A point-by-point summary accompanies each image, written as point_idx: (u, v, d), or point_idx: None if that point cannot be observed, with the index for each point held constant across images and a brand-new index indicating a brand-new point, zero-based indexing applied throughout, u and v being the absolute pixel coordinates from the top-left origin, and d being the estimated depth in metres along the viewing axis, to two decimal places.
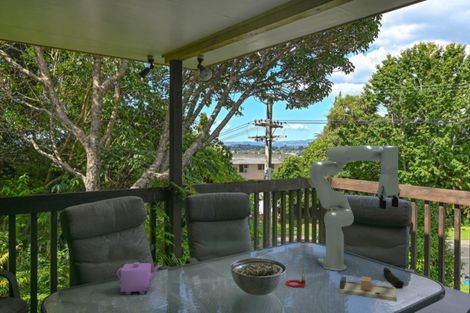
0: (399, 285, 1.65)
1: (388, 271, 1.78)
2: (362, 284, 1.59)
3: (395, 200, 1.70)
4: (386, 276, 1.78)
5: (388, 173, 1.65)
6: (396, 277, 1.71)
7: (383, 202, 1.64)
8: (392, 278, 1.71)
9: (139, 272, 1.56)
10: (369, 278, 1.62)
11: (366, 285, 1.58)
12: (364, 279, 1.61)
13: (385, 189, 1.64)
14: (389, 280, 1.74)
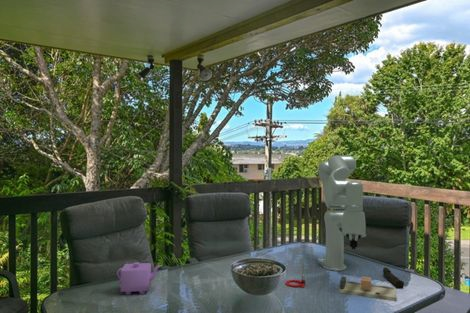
0: (400, 285, 1.65)
1: (388, 271, 1.78)
2: (362, 284, 1.59)
3: (353, 241, 1.64)
4: (386, 276, 1.78)
5: None
6: (396, 277, 1.71)
7: None
8: (392, 278, 1.71)
9: (139, 272, 1.56)
10: (369, 278, 1.62)
11: (366, 285, 1.58)
12: (364, 279, 1.61)
13: None
14: (389, 280, 1.74)
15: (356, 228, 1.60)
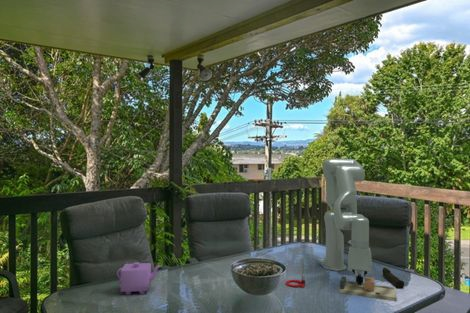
0: (400, 285, 1.65)
1: (388, 271, 1.78)
2: (365, 284, 1.59)
3: (359, 276, 1.63)
4: (386, 276, 1.78)
5: None
6: (396, 277, 1.71)
7: None
8: (392, 278, 1.71)
9: (139, 272, 1.56)
10: (372, 278, 1.61)
11: (370, 286, 1.58)
12: (368, 279, 1.61)
13: None
14: (389, 280, 1.74)
15: (362, 264, 1.59)
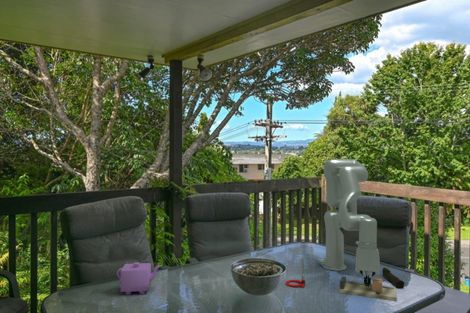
0: (400, 285, 1.65)
1: (388, 271, 1.78)
2: (373, 286, 1.57)
3: None
4: (386, 276, 1.78)
5: None
6: (396, 277, 1.71)
7: None
8: (392, 278, 1.71)
9: (139, 272, 1.56)
10: (380, 280, 1.60)
11: (378, 287, 1.57)
12: (376, 280, 1.59)
13: None
14: (389, 280, 1.74)
15: (370, 265, 1.58)
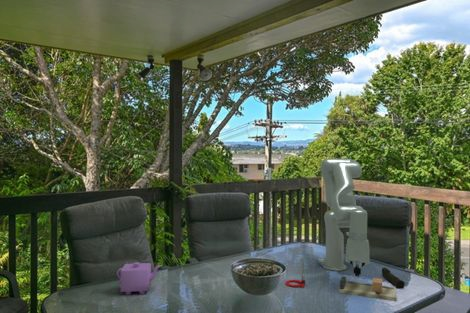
0: (401, 285, 1.65)
1: (387, 271, 1.78)
2: (374, 286, 1.57)
3: None
4: (385, 276, 1.78)
5: None
6: (396, 277, 1.71)
7: None
8: (392, 278, 1.70)
9: (139, 272, 1.56)
10: (380, 280, 1.60)
11: (378, 287, 1.57)
12: (376, 280, 1.59)
13: None
14: (389, 280, 1.74)
15: (360, 256, 1.60)
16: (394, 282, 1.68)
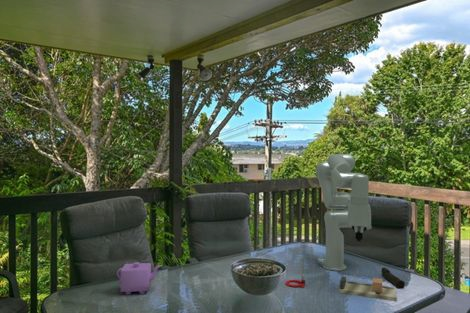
0: (401, 285, 1.65)
1: (387, 271, 1.78)
2: (374, 286, 1.57)
3: None
4: (385, 276, 1.78)
5: None
6: (396, 277, 1.71)
7: None
8: (393, 278, 1.70)
9: (139, 272, 1.56)
10: (380, 280, 1.60)
11: (378, 287, 1.57)
12: (376, 280, 1.59)
13: None
14: (389, 280, 1.74)
15: (362, 220, 1.61)
16: (394, 282, 1.68)
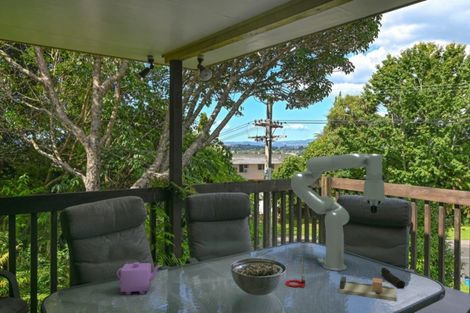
0: (401, 285, 1.65)
1: (387, 271, 1.78)
2: (374, 286, 1.57)
3: None
4: (385, 276, 1.78)
5: None
6: (396, 277, 1.71)
7: None
8: (393, 278, 1.70)
9: (139, 272, 1.56)
10: (380, 280, 1.60)
11: (378, 287, 1.57)
12: (376, 280, 1.59)
13: None
14: (389, 280, 1.74)
15: (376, 194, 1.80)
16: (394, 282, 1.68)
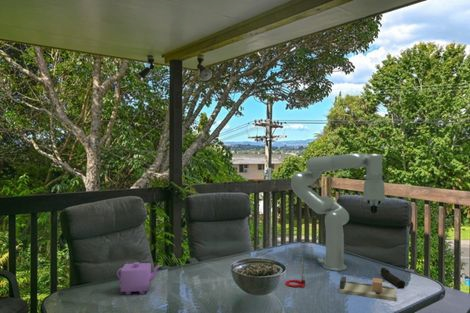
0: (401, 285, 1.65)
1: (387, 271, 1.78)
2: (374, 286, 1.57)
3: None
4: (385, 276, 1.78)
5: None
6: (396, 277, 1.71)
7: None
8: (393, 278, 1.70)
9: (139, 272, 1.56)
10: (380, 280, 1.60)
11: (378, 287, 1.57)
12: (376, 280, 1.59)
13: None
14: (389, 280, 1.74)
15: (376, 194, 1.80)
16: (394, 282, 1.68)
